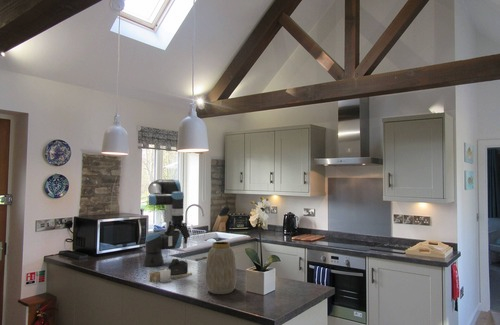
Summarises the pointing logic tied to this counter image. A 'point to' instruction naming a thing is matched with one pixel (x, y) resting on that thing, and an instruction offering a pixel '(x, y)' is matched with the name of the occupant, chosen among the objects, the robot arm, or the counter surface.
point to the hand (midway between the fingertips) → (177, 247)
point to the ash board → (180, 275)
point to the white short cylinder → (165, 275)
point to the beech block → (154, 276)
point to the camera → (178, 267)
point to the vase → (221, 269)
